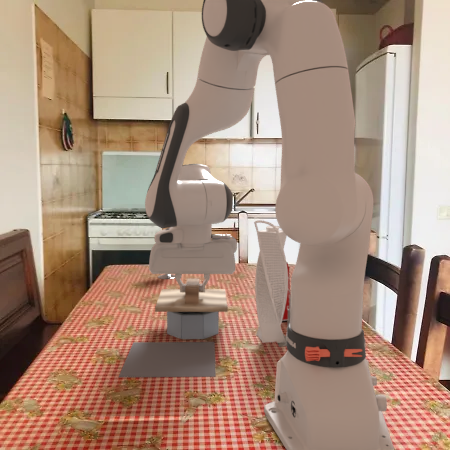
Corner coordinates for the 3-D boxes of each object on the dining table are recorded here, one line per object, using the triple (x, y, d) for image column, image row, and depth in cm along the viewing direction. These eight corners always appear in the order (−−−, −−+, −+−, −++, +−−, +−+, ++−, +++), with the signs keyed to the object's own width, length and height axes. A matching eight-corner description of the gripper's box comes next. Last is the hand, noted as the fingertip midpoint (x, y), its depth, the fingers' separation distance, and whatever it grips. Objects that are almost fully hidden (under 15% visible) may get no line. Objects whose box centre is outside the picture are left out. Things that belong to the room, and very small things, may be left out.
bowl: (218, 340, 110) (218, 315, 109) (165, 341, 109) (165, 315, 109) (217, 323, 122) (217, 300, 121) (170, 324, 121) (169, 300, 121)
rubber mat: (215, 378, 90) (215, 376, 90) (118, 379, 89) (118, 377, 89) (214, 344, 108) (214, 341, 108) (133, 344, 107) (133, 342, 107)
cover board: (227, 311, 107) (227, 291, 106) (155, 311, 106) (155, 291, 106) (224, 293, 123) (225, 275, 122) (161, 293, 122) (161, 275, 122)
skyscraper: (259, 350, 105) (261, 222, 102) (248, 337, 113) (249, 218, 110) (295, 346, 108) (298, 221, 104) (281, 334, 115) (284, 217, 112)
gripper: (236, 232, 116) (235, 288, 118) (151, 232, 115) (151, 288, 117) (237, 236, 110) (237, 295, 112) (147, 235, 109) (148, 295, 111)
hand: (192, 292), depth 114 cm, fingers closed on cover board, 3 cm apart
